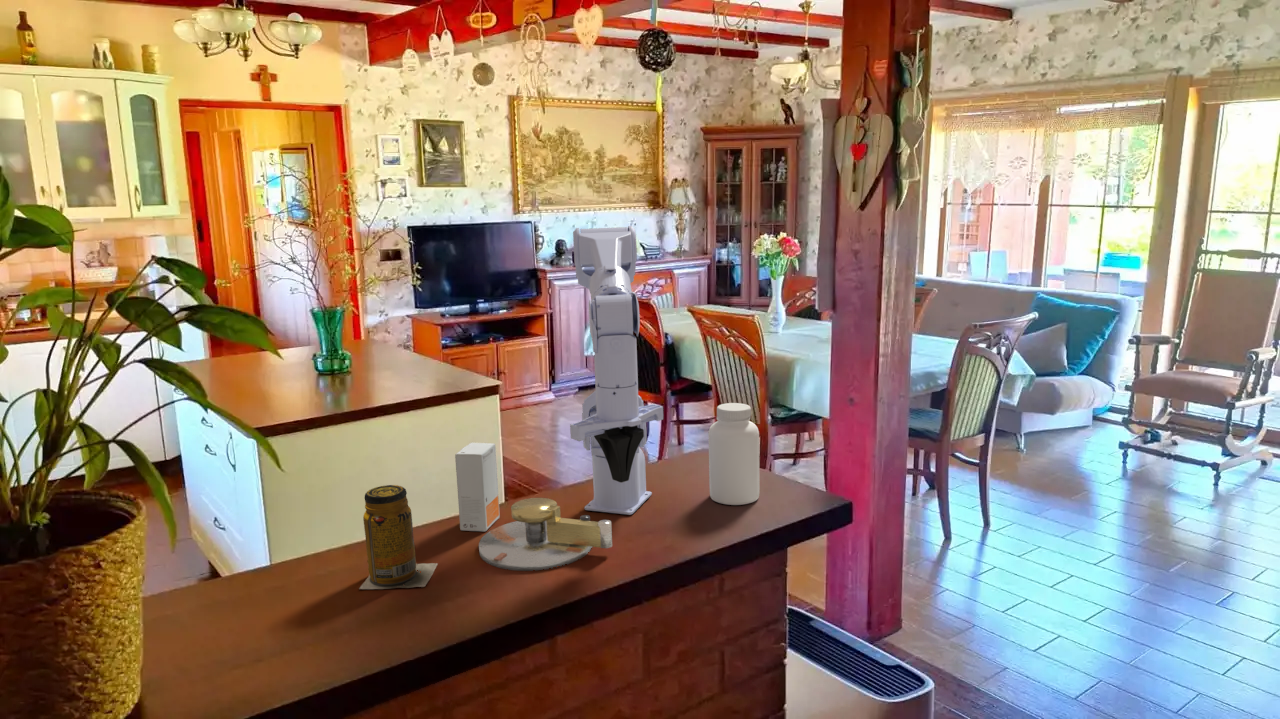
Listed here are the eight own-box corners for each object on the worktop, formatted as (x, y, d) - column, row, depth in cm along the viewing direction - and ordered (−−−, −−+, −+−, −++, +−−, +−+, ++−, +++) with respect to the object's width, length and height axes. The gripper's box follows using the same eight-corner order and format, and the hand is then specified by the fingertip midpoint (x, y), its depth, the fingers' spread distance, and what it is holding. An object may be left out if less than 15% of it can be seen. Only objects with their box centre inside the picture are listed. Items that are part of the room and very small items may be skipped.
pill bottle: (761, 490, 142) (761, 400, 139) (756, 508, 135) (756, 414, 132) (713, 487, 144) (711, 399, 141) (706, 505, 136) (704, 412, 133)
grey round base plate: (513, 519, 133) (512, 491, 132) (610, 530, 128) (609, 501, 127) (457, 562, 119) (454, 531, 118) (563, 577, 113) (561, 544, 112)
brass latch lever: (505, 543, 121) (502, 511, 120) (526, 526, 127) (524, 495, 126) (602, 555, 116) (601, 522, 115) (620, 537, 122) (618, 505, 121)
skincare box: (486, 532, 129) (481, 454, 126) (459, 531, 130) (453, 454, 127) (501, 517, 135) (496, 442, 132) (475, 515, 135) (469, 441, 133)
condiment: (376, 566, 119) (367, 482, 116) (438, 564, 119) (431, 480, 116) (358, 590, 112) (349, 502, 109) (424, 589, 111) (416, 500, 109)
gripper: (590, 398, 110) (595, 500, 112) (676, 378, 119) (679, 474, 121) (559, 389, 115) (564, 487, 118) (643, 371, 124) (646, 462, 127)
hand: (620, 479), depth 120 cm, fingers closed
